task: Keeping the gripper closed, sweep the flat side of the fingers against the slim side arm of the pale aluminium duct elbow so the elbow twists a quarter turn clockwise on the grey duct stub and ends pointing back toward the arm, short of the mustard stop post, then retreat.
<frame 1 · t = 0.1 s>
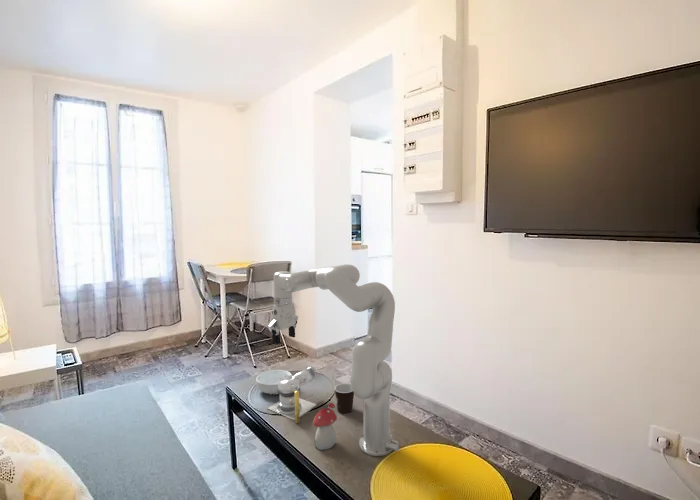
hand: (284, 340, 155), 31 cm above the table, fingers open, 9 cm apart
coffee mug: (345, 408, 159), on the table
decorative ornament: (325, 445, 134), on the table
duct stub: (289, 409, 158), on the table
elbow: (296, 380, 162), point 11 cm above the table, hinge at 0.0°
cereal bowl: (274, 391, 176), on the table
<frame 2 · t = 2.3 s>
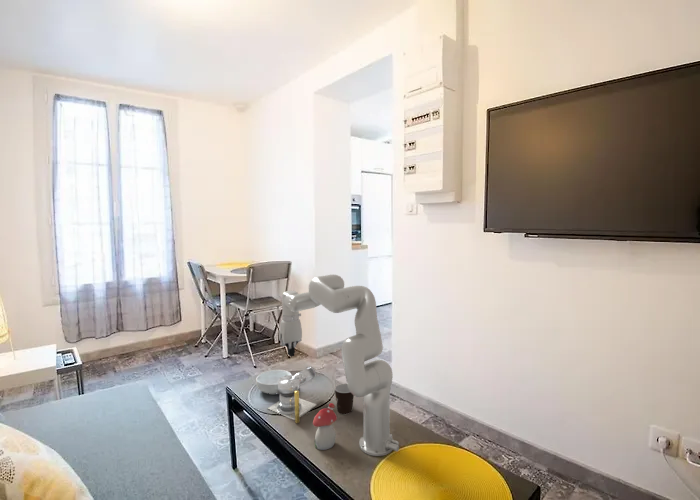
hand: (291, 355, 172), 18 cm above the table, fingers closed
nothing on the table moved.
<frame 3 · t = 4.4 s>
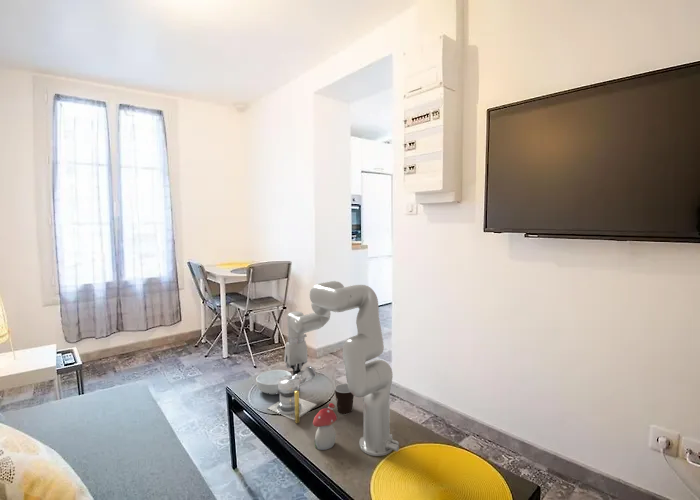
hand: (297, 377, 168), 9 cm above the table, fingers closed
elbow: (296, 380, 162), point 11 cm above the table, hinge at 0.0°, touching gripper
everything else where it was.
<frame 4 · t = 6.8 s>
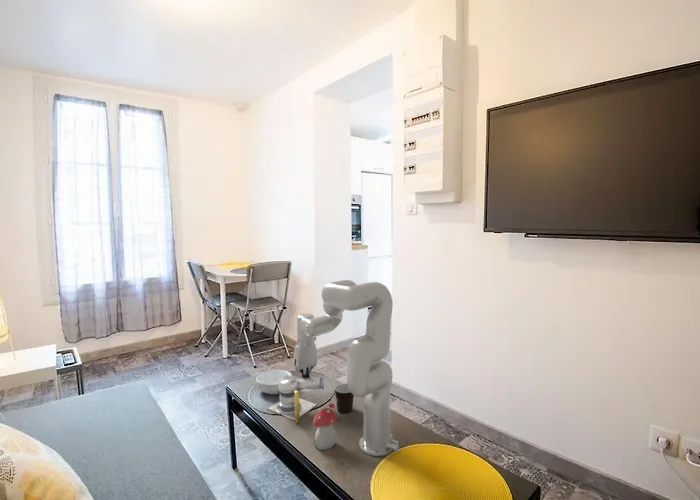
hand: (305, 381, 162), 10 cm above the table, fingers closed
elbow: (300, 384, 158), point 11 cm above the table, hinge at -51.9°, touching gripper
everything else where it was.
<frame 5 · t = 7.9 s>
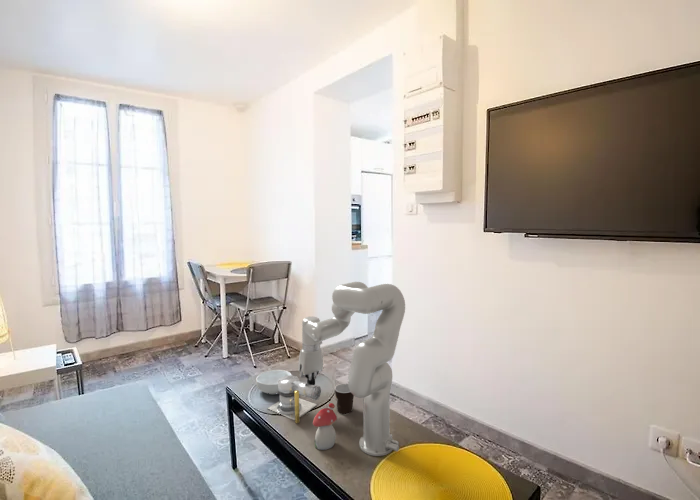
hand: (311, 387, 157), 10 cm above the table, fingers closed
elbow: (298, 387, 155), point 11 cm above the table, hinge at -86.8°, touching gripper
everything else where it was.
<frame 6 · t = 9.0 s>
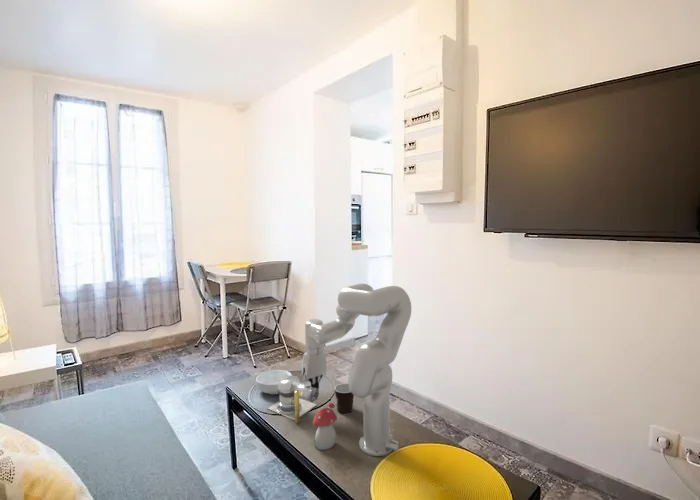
hand: (314, 391, 154), 10 cm above the table, fingers closed
elbow: (297, 388, 154), point 11 cm above the table, hinge at -94.2°, touching gripper
everything else where it was.
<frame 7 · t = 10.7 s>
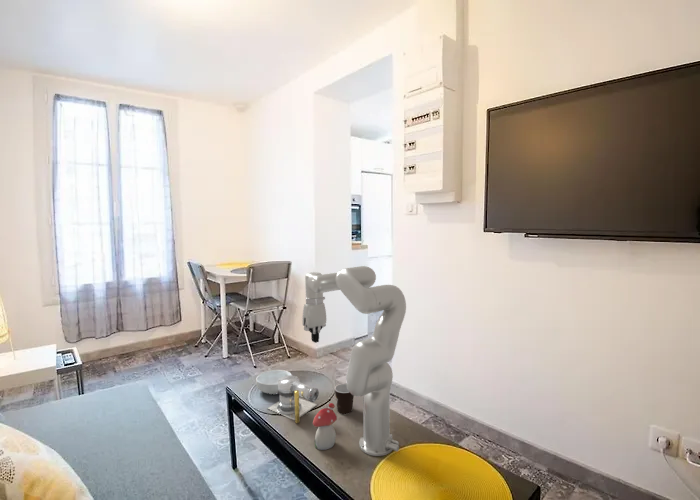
hand: (315, 341, 161), 28 cm above the table, fingers closed
elbow: (297, 388, 154), point 11 cm above the table, hinge at -94.6°
everything else where it was.
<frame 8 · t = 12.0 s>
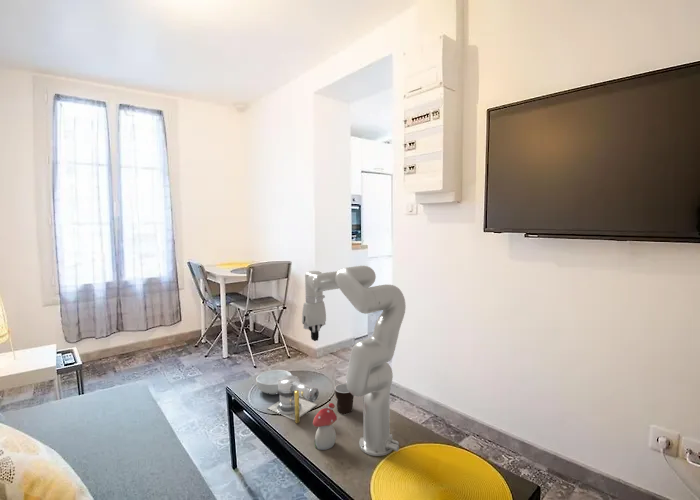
hand: (314, 339, 161), 29 cm above the table, fingers closed
nothing on the table moved.
at the end: elbow at -95° (first picture: +0°); elbow touching nothing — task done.
